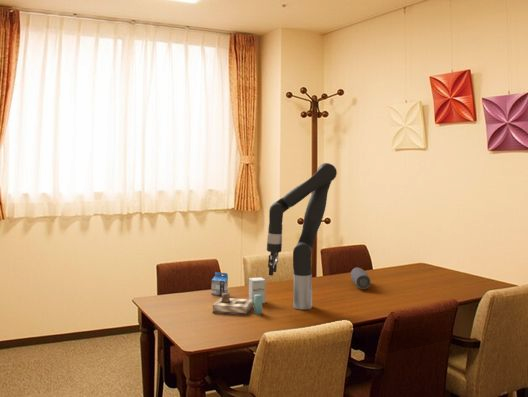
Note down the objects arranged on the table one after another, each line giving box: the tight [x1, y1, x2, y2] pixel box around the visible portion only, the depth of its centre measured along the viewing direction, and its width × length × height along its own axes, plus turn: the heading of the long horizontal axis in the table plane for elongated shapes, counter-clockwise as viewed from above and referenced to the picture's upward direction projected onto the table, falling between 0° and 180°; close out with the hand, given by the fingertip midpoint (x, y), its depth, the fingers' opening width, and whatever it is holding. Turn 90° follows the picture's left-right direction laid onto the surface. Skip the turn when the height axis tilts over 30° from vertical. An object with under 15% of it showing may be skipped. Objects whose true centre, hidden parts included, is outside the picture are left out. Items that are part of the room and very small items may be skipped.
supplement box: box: [248, 277, 266, 305], centre depth 271 cm, size 7×7×13 cm
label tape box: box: [210, 271, 229, 297], centre depth 287 cm, size 9×4×12 cm, turn 62°
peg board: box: [212, 292, 254, 316], centre depth 257 cm, size 17×14×8 cm
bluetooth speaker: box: [350, 267, 372, 290], centre depth 307 cm, size 23×9×10 cm, turn 179°
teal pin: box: [253, 294, 263, 315], centre depth 251 cm, size 4×4×9 cm
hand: (272, 273), depth 261 cm, fingers open, 8 cm apart
